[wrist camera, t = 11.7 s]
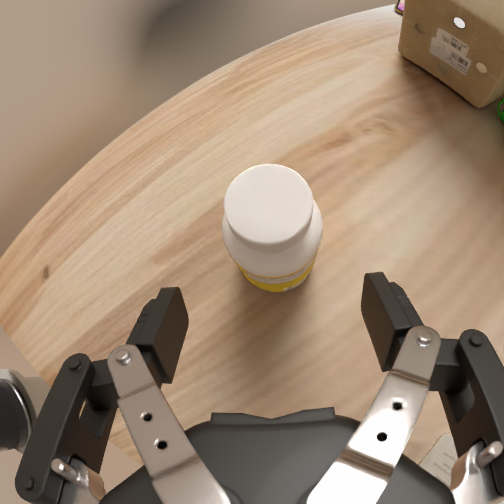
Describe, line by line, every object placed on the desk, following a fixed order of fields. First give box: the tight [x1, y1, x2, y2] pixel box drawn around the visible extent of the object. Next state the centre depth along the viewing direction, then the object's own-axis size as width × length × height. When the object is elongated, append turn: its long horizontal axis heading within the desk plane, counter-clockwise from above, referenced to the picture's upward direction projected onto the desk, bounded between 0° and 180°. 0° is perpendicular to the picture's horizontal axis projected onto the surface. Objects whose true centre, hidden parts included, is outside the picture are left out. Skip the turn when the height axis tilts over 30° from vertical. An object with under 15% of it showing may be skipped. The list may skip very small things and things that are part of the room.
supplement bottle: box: [222, 164, 323, 293], centre depth 17 cm, size 5×5×10 cm
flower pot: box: [398, 0, 504, 108], centre depth 18 cm, size 19×19×17 cm
